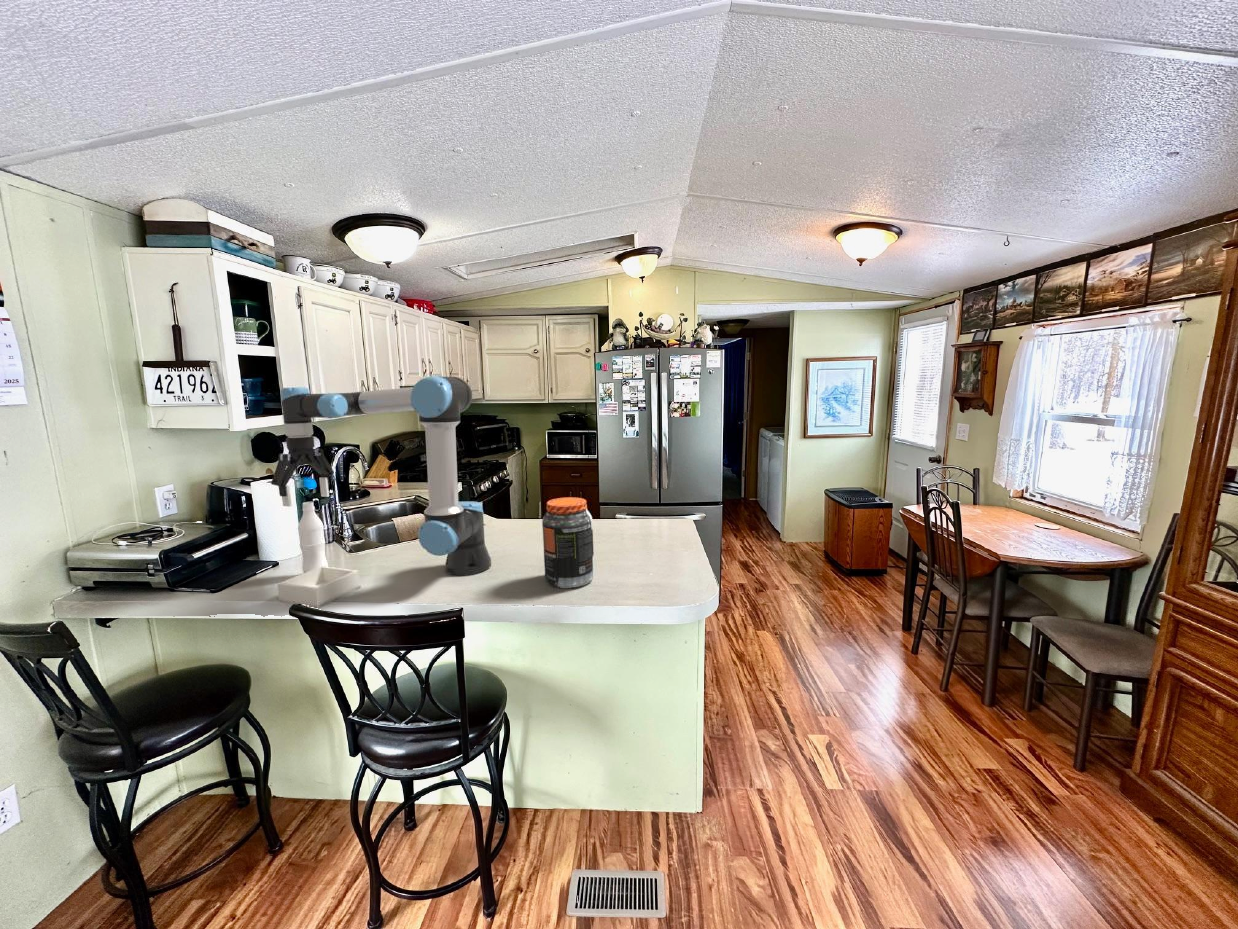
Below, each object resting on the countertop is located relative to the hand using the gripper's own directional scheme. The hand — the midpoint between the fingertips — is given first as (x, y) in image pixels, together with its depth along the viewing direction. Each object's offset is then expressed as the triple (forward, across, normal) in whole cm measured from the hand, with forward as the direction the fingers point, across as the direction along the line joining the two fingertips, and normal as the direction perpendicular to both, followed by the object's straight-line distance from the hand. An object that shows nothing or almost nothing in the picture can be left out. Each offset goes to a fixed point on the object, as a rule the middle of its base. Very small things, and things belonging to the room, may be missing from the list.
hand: (307, 501), depth 163 cm
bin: (+25, +11, +15) cm, 32 cm away
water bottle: (+26, 0, 0) cm, 26 cm away
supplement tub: (+25, -21, +83) cm, 90 cm away
